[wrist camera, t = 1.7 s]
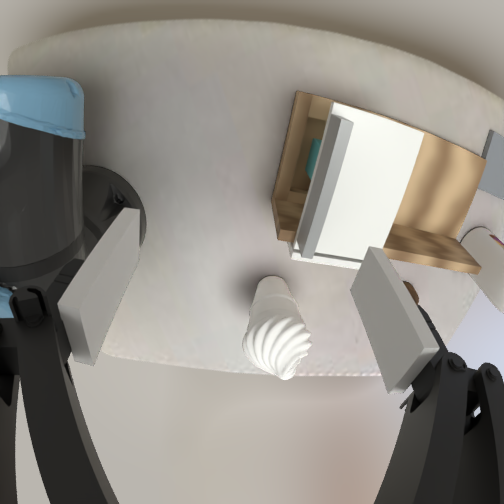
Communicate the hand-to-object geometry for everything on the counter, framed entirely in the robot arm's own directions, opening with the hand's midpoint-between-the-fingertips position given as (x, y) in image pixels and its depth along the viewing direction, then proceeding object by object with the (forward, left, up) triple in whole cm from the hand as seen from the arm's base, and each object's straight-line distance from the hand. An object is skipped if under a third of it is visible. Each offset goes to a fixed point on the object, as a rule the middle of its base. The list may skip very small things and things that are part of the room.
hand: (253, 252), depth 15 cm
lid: (+10, -1, -21) cm, 23 cm away
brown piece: (+18, 0, -24) cm, 30 cm away
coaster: (+37, +7, -24) cm, 45 cm away
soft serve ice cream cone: (+7, -20, -24) cm, 32 cm away
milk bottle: (+39, -7, -24) cm, 46 cm away
